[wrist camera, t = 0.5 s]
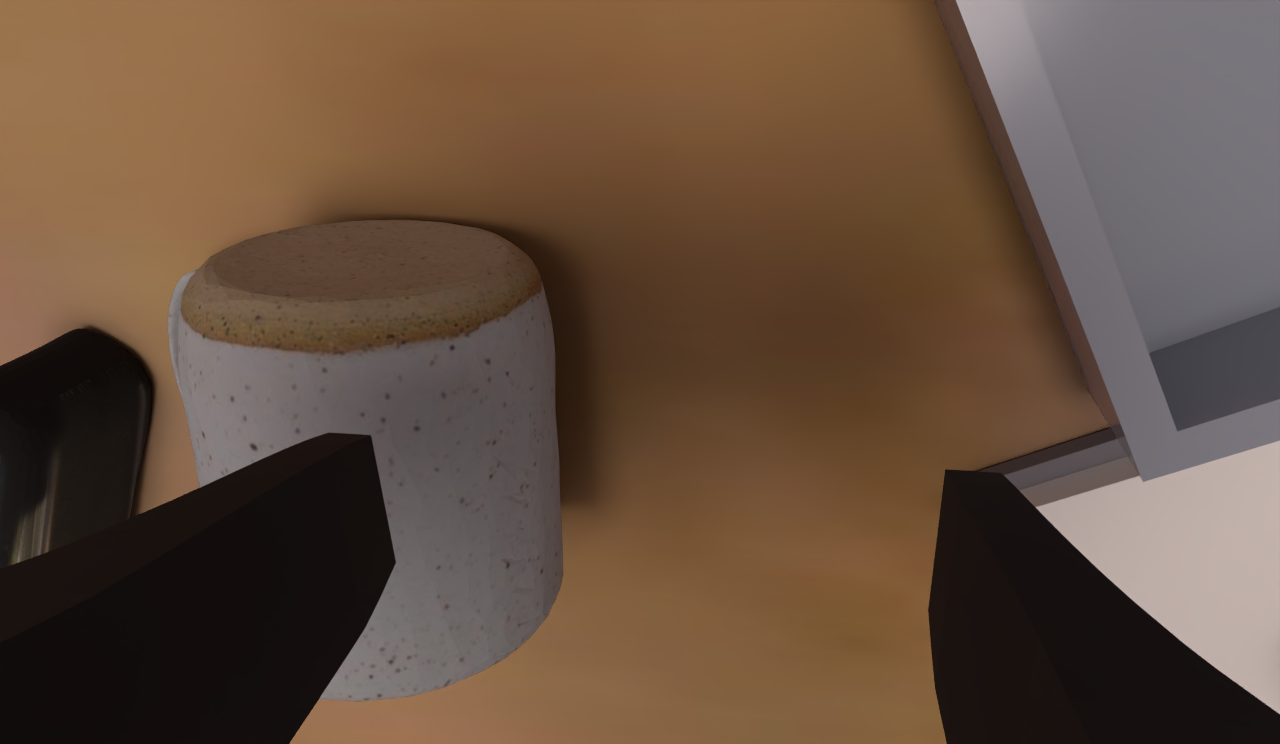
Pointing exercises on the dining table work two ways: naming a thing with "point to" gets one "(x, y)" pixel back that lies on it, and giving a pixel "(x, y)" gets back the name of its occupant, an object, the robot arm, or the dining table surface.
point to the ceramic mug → (395, 419)
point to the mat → (1061, 460)
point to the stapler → (68, 442)
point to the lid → (1188, 552)
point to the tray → (1146, 202)
